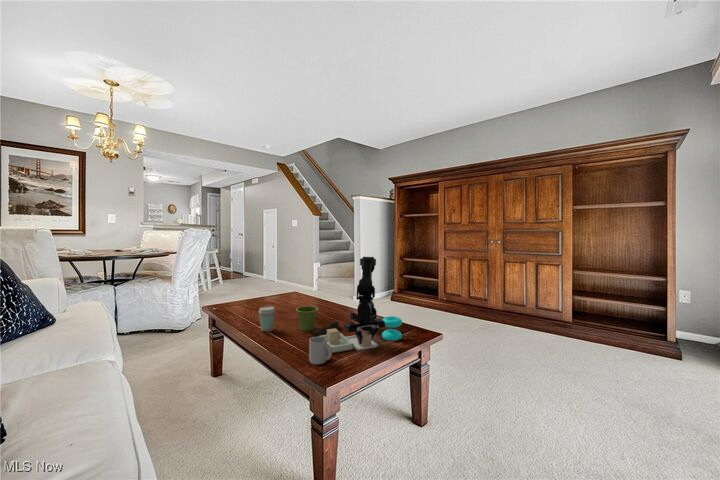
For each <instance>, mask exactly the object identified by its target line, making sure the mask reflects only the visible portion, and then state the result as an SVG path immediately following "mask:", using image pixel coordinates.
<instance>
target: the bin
mask: <svg viewBox="0 0 720 480" xmlns="http://www.w3.org/2000/svg"><path fill="white" fill-rule="evenodd" d="M319 337H325V338H327V334H324V335H322V336H319ZM346 337H347V336H345V335H344V334H343V333H342V332H339V343H334V344H329V343H328V342H327V344H329V345H330V346H331V350H332V354H333V353H339V352H344V351H350V350H354V347H353V343H352V342H351V341H350V340H348V339H347V338H346Z"/></svg>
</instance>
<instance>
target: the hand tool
mask: <svg viewBox="0 0 720 480" xmlns="http://www.w3.org/2000/svg"><path fill="white" fill-rule="evenodd" d="M339 324H340V323H339V321H331V322H330V323H329V325H326V326H324V327H322V328H319V329H316V330H311V337H312V338H313V337H319V336H322V335H327V330H328V329H335V328H336V329H337V330H338V329H339V328H340V325H339Z"/></svg>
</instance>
